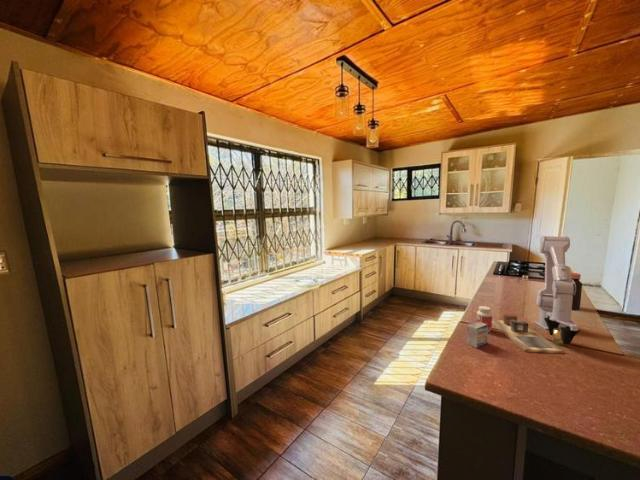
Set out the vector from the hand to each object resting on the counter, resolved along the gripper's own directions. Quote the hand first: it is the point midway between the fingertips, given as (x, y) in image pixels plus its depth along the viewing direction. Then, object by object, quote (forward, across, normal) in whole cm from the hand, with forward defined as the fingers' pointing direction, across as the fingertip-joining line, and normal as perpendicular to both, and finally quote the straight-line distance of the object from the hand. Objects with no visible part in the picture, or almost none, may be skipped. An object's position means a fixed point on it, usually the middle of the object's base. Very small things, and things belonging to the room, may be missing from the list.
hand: (559, 339), depth 110 cm
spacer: (+2, 0, 0) cm, 2 cm away
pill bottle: (+2, -11, -25) cm, 27 cm away
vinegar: (+2, -42, +35) cm, 55 cm away
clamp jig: (+2, -6, -11) cm, 13 cm away
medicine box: (+2, +3, -34) cm, 34 cm away
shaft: (+1, -12, -11) cm, 16 cm away
